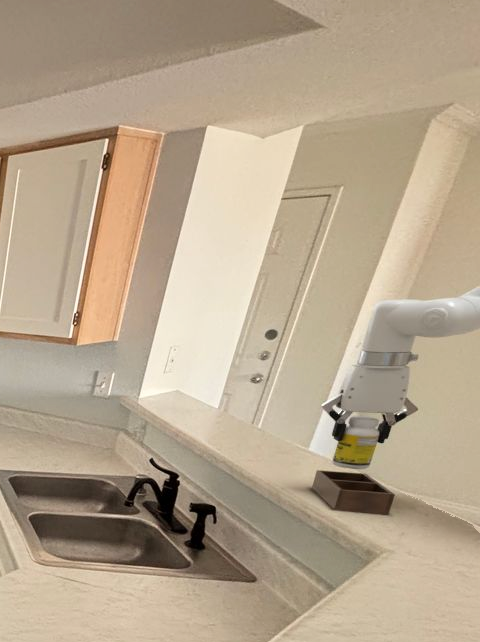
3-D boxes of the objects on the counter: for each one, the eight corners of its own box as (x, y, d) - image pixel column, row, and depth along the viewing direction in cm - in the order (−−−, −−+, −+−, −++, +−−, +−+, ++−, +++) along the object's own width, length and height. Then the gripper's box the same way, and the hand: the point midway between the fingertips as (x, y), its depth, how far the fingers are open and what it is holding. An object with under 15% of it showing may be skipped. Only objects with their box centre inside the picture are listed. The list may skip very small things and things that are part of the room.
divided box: (359, 492, 138) (365, 473, 137) (388, 514, 124) (395, 494, 123) (311, 488, 142) (316, 470, 141) (334, 509, 129) (340, 489, 127)
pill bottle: (325, 461, 138) (339, 415, 135) (359, 463, 136) (373, 416, 133) (340, 468, 133) (354, 420, 129) (375, 470, 131) (390, 421, 127)
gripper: (430, 358, 125) (403, 440, 131) (324, 358, 134) (303, 435, 140) (447, 362, 119) (418, 447, 125) (335, 361, 127) (312, 441, 133)
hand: (358, 440), depth 132 cm, fingers closed on pill bottle, 6 cm apart
